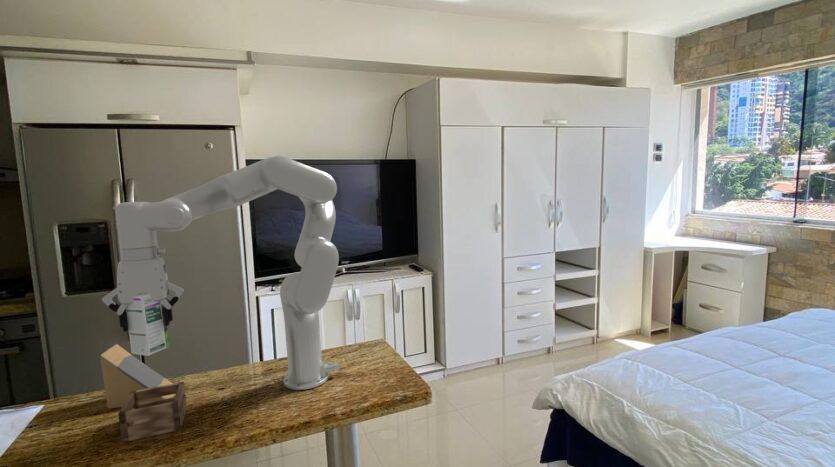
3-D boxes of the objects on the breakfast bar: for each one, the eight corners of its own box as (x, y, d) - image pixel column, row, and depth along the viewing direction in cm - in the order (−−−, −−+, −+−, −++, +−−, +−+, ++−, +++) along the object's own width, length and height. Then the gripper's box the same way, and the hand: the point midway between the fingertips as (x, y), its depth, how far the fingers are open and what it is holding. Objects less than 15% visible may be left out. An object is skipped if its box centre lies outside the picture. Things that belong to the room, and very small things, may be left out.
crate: (186, 406, 116) (183, 381, 115) (181, 429, 105) (178, 402, 104) (133, 416, 112) (130, 391, 111) (122, 442, 101) (118, 414, 100)
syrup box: (149, 356, 103) (142, 295, 101) (130, 354, 105) (123, 294, 103) (169, 347, 108) (163, 289, 106) (151, 345, 110) (145, 288, 108)
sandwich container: (169, 402, 119) (163, 349, 117) (106, 409, 116) (99, 355, 115) (180, 387, 127) (175, 337, 125) (122, 394, 125) (116, 343, 123)
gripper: (183, 249, 110) (189, 317, 112) (100, 255, 104) (108, 327, 106) (179, 253, 103) (186, 326, 105) (90, 260, 97) (99, 337, 99)
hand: (147, 326), depth 106 cm, fingers closed on syrup box, 8 cm apart
